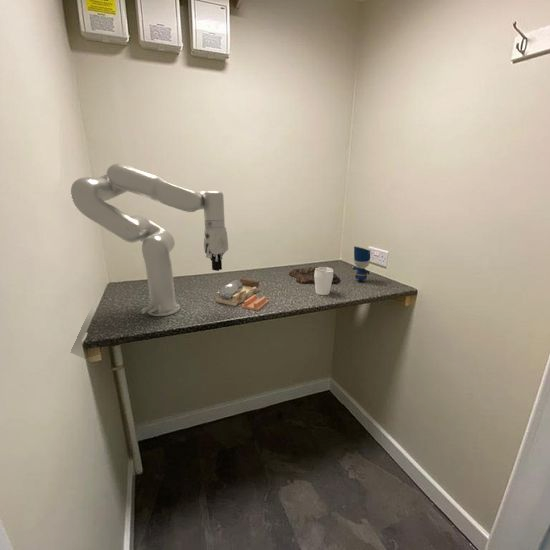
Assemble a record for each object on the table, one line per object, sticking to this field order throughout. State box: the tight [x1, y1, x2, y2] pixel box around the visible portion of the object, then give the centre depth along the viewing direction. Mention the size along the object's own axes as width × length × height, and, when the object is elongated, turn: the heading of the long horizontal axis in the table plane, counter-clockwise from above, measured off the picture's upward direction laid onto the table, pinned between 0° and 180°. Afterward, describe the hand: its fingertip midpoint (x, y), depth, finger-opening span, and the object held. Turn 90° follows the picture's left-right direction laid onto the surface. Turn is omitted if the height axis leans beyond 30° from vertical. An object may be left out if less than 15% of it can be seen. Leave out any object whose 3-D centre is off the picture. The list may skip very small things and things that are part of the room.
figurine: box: [352, 246, 372, 282], centre depth 153 cm, size 13×9×20 cm
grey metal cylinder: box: [218, 279, 243, 300], centre depth 128 cm, size 10×6×6 cm, turn 154°
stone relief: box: [288, 266, 341, 286], centre depth 162 cm, size 26×4×30 cm
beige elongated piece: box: [215, 278, 260, 307], centre depth 133 cm, size 21×10×5 cm, turn 154°
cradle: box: [241, 294, 270, 312], centre depth 124 cm, size 10×8×3 cm
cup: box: [314, 266, 334, 296], centre depth 138 cm, size 9×9×12 cm
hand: (217, 269), depth 116 cm, fingers closed
